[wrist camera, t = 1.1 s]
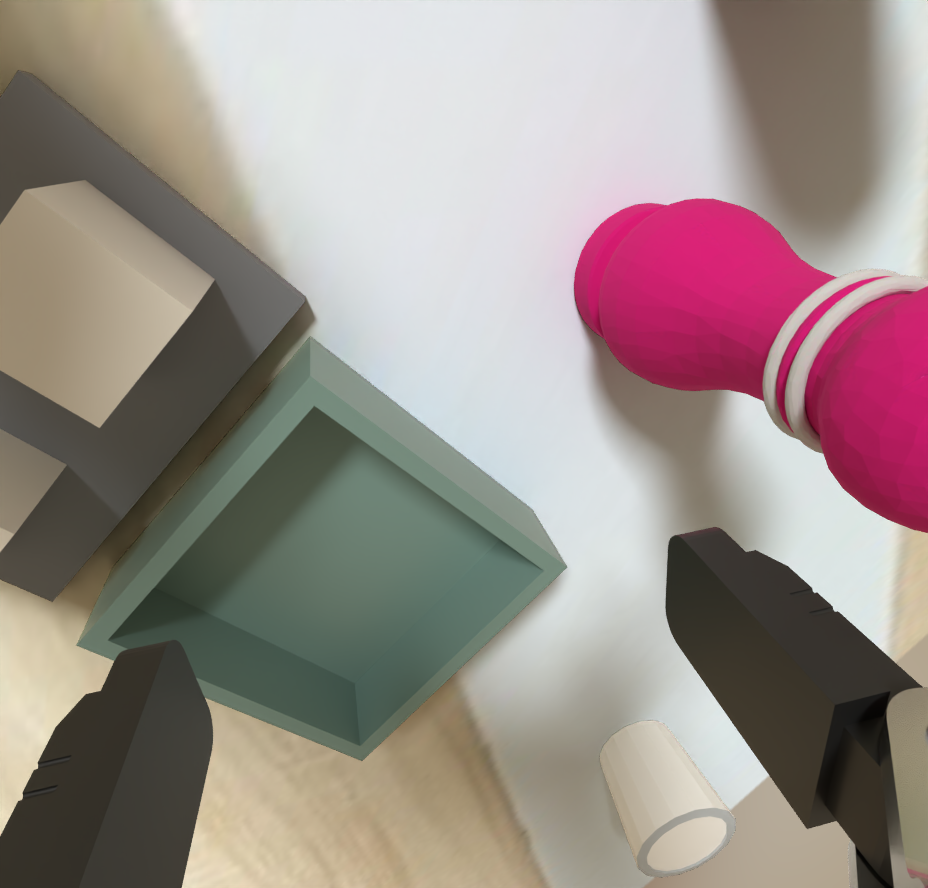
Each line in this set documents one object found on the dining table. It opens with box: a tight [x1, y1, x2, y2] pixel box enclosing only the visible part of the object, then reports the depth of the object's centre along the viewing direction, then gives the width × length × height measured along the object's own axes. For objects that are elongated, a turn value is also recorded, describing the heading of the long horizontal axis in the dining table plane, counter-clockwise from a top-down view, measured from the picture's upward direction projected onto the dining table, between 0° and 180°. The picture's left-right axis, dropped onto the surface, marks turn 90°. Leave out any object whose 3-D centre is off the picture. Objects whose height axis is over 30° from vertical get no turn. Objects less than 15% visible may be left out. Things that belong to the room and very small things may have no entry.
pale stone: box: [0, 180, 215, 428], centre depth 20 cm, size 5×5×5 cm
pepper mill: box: [574, 199, 928, 533], centre depth 19 cm, size 7×7×20 cm
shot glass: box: [599, 720, 736, 878], centre depth 41 cm, size 7×7×7 cm
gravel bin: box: [77, 336, 567, 761], centre depth 28 cm, size 15×15×5 cm
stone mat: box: [0, 70, 305, 602], centre depth 23 cm, size 11×18×1 cm, turn 136°
